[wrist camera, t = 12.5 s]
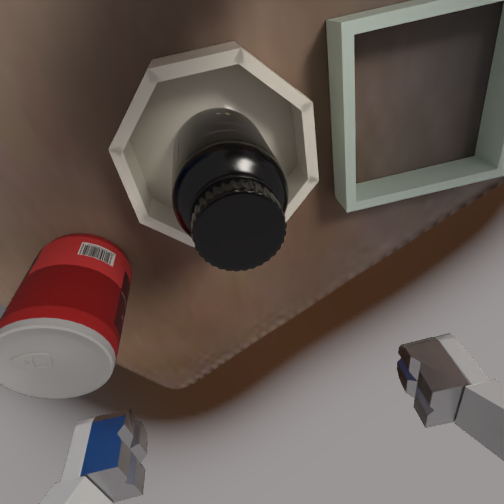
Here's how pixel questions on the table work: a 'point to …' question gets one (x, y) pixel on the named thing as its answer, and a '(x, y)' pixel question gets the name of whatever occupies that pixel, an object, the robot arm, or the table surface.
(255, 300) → the table surface
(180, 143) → the supplement bottle
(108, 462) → the robot arm
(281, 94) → the bowl
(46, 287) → the canned food
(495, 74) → the tray
